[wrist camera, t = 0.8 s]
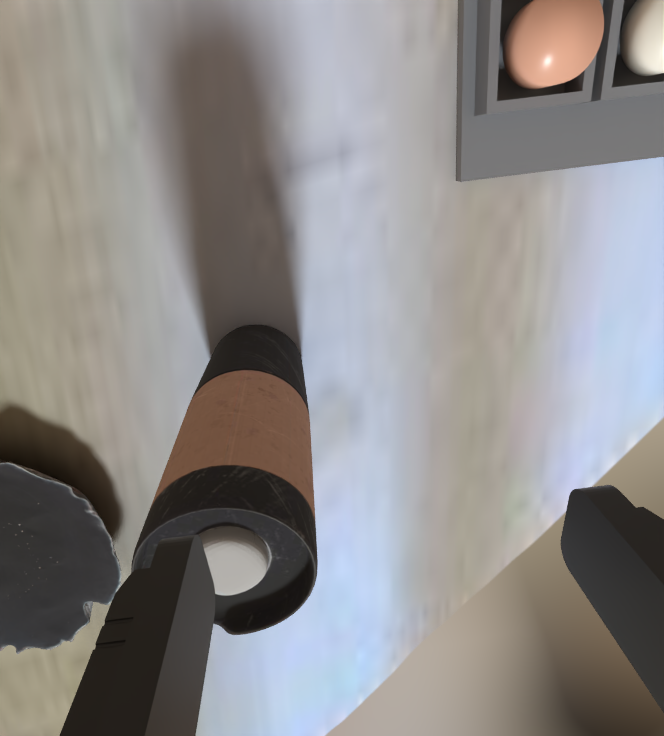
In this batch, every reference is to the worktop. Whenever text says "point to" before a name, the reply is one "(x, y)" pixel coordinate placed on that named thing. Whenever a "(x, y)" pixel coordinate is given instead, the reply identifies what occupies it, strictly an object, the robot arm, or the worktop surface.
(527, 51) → the terracotta button
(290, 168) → the worktop surface
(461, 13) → the button panel
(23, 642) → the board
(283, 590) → the travel mug
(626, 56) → the cream button
